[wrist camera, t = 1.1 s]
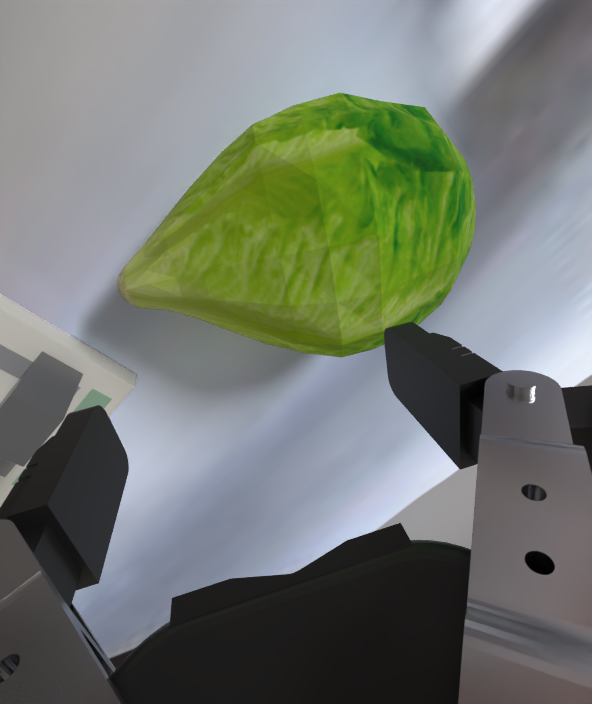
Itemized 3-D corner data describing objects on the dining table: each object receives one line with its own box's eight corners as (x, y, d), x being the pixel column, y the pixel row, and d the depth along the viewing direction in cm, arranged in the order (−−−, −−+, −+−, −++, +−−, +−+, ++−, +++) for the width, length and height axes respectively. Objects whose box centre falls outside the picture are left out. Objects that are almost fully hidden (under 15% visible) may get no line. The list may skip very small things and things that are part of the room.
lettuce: (190, 353, 35) (131, 170, 30) (439, 301, 34) (423, 104, 29) (130, 446, 21) (1, 132, 16) (548, 361, 20) (554, 3, 15)
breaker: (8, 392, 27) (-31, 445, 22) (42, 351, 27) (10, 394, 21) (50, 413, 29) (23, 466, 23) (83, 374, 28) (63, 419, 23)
